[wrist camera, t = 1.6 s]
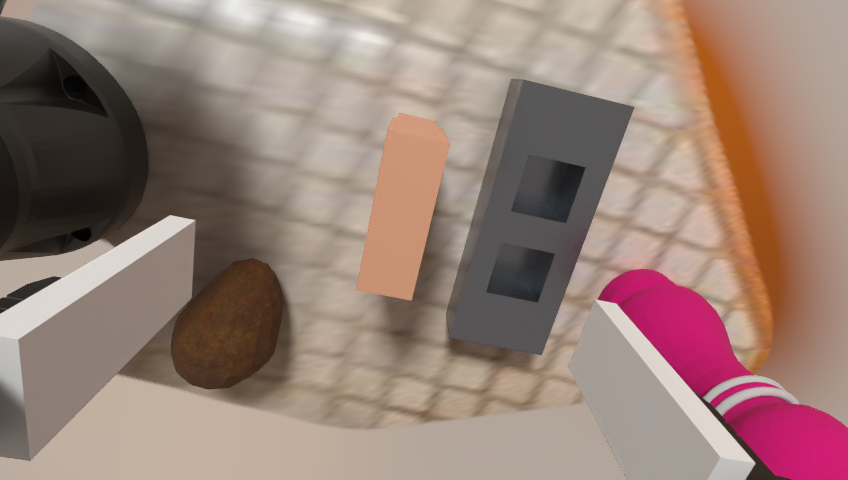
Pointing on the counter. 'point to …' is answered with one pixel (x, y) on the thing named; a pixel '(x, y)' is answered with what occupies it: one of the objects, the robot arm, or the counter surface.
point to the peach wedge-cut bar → (403, 206)
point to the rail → (533, 214)
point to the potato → (229, 327)
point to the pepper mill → (731, 379)
